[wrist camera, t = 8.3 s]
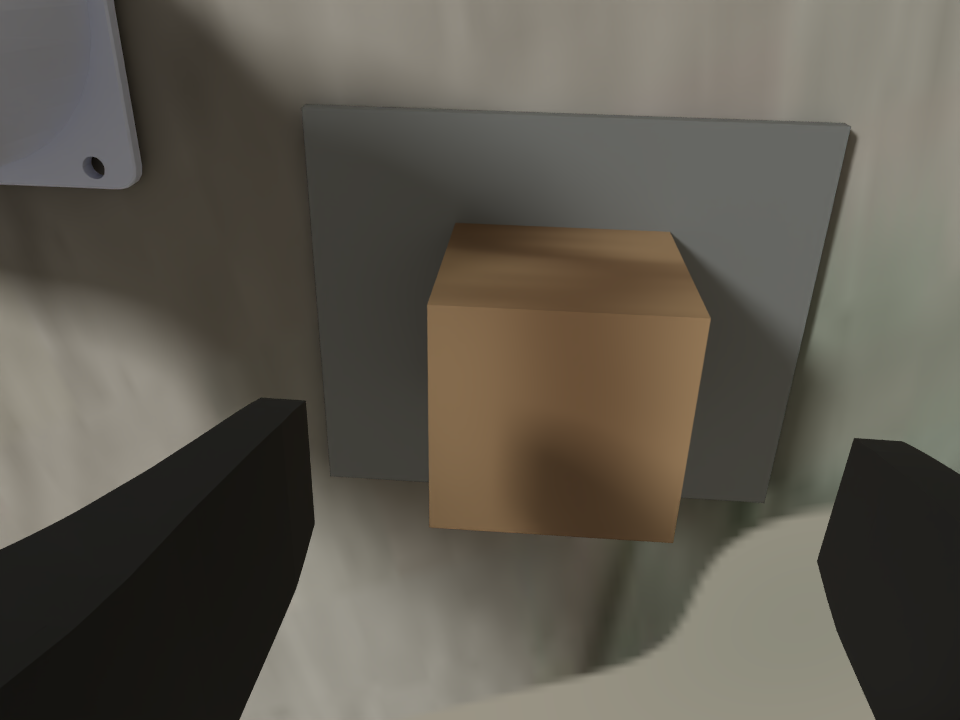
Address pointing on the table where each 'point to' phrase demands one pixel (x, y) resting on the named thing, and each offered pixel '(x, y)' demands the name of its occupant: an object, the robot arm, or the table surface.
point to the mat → (573, 204)
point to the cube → (562, 381)
